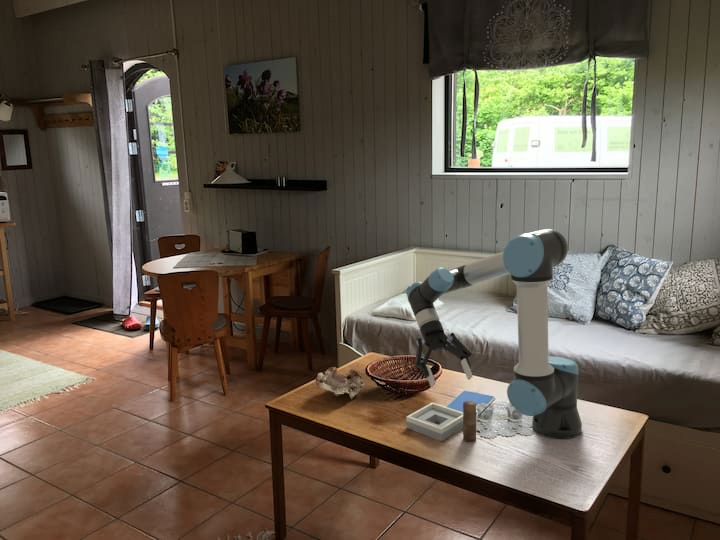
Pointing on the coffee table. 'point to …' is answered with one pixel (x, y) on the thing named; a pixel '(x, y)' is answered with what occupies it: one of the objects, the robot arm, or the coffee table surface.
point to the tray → (435, 412)
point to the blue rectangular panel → (469, 396)
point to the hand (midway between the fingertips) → (452, 381)
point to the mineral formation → (340, 382)
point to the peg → (469, 421)
